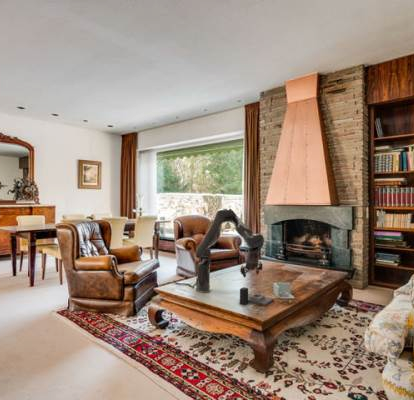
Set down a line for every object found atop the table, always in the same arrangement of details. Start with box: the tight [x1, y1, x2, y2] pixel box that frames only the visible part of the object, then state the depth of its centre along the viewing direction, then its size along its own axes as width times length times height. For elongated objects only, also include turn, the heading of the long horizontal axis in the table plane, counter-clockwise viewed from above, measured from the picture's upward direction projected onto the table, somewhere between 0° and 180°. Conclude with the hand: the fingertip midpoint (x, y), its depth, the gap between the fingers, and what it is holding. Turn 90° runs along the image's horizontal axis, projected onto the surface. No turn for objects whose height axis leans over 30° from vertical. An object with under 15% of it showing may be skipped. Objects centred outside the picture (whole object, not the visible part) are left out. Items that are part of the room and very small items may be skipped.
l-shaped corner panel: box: [273, 282, 296, 299], centre depth 224 cm, size 12×12×8 cm
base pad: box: [248, 293, 275, 307], centre depth 213 cm, size 18×14×3 cm
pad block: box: [239, 287, 249, 306], centre depth 207 cm, size 4×5×10 cm
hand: (250, 275), depth 205 cm, fingers open, 8 cm apart
